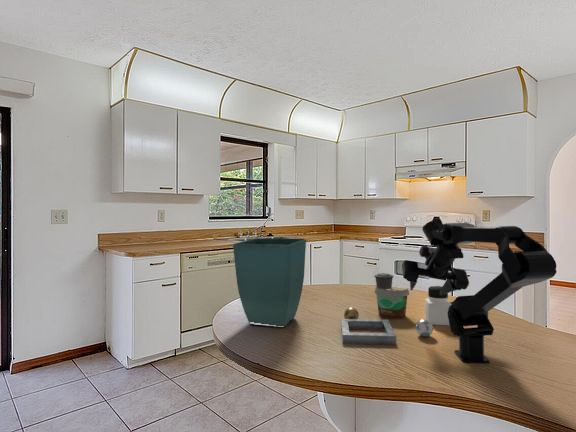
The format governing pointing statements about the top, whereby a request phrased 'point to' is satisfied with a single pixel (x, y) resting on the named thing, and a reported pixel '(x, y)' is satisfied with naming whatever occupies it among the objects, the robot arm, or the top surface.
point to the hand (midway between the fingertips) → (425, 291)
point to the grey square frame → (367, 338)
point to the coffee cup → (384, 281)
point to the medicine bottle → (437, 306)
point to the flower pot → (270, 278)
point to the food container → (391, 302)
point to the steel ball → (424, 328)
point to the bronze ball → (351, 313)
